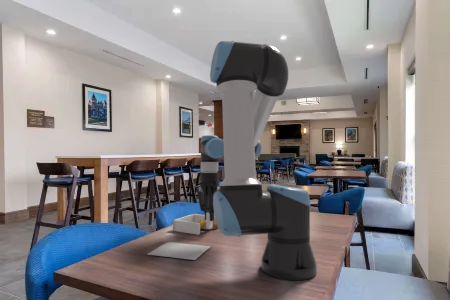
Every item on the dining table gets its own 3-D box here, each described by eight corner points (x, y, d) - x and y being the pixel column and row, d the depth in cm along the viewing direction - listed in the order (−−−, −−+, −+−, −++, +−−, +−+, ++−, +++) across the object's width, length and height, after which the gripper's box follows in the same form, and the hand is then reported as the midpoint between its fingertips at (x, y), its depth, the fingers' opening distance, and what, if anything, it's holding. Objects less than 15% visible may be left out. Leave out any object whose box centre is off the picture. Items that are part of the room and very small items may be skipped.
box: (198, 234, 117) (198, 223, 117) (173, 230, 124) (173, 220, 124) (217, 226, 130) (217, 216, 130) (193, 223, 137) (193, 213, 137)
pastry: (219, 226, 131) (219, 218, 131) (218, 230, 124) (218, 221, 124) (198, 226, 131) (198, 217, 131) (196, 230, 124) (196, 221, 124)
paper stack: (179, 237, 116) (179, 235, 116) (240, 242, 108) (240, 240, 108) (146, 256, 93) (146, 254, 93) (221, 265, 86) (221, 262, 86)
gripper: (227, 172, 124) (227, 228, 123) (201, 171, 130) (201, 224, 129) (218, 172, 117) (218, 232, 117) (191, 172, 124) (191, 228, 123)
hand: (209, 228), depth 123 cm, fingers closed
